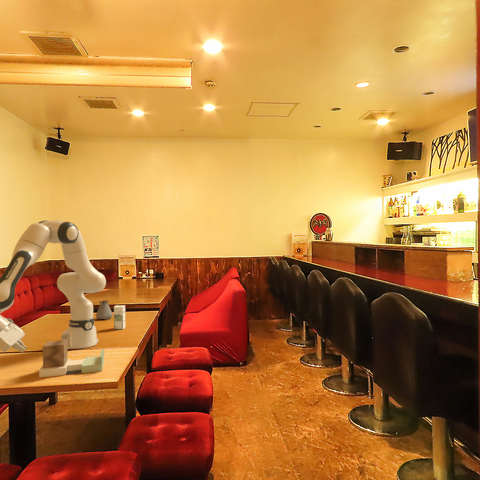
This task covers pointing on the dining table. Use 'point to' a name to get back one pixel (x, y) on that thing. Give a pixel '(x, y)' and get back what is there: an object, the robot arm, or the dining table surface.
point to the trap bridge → (75, 366)
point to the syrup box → (119, 317)
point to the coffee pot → (104, 310)
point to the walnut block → (55, 354)
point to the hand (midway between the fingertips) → (24, 350)
